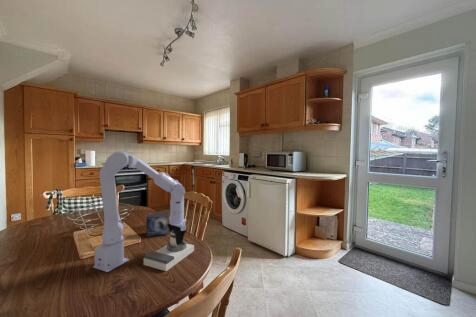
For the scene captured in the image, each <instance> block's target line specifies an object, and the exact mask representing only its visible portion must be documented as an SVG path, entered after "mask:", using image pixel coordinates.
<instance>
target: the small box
mask: <svg viewBox="0 0 476 317" xmlns="http://www.w3.org/2000/svg"><path fill="white" fill-rule="evenodd" d="M167 224H169V212H154V213H153V212H152V213H151V212H150V213H147V215H146V232H145V233H146V235H145V236H146V237H147V238H148V237H159V236H161V237H162V236H168V233H169V228H168V226H167Z"/></svg>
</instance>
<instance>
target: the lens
mask: <svg viewBox="0 0 476 317" xmlns="http://www.w3.org/2000/svg"><path fill="white" fill-rule="evenodd" d="M169 233H170V232H169ZM169 237H170V238H169V242H170V247H181V246H182V244H180V245H177V244H176V237H175V233H174V231H171V233H170V234H169Z"/></svg>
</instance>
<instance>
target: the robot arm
mask: <svg viewBox="0 0 476 317" xmlns="http://www.w3.org/2000/svg"><path fill="white" fill-rule="evenodd" d="M127 166H128V169H130V168H131V169H137V170H139V171H140V172H142V173H143V174H145V175H147V176H149V177H150V178H152V179H153V182H154V184H155V185H156V186H158V187H160V188H161V189H162V190H164V191H166V192H168V193H170V201H169V202H170V203H169V204H170V206H169V207H170V208H169V209H170V212H169V213H170V214H169V216H168V224H167V226H168V231H169V233H171V231H174V233H175V237H176V244H177V245H180V244H182V242H183V241H184V238H185V234H186V233H187V230H188V228H187V225H186V223H187V219H186V218H185V194H186V188H185V187H184V186H183V184H181V183H180V182H179V180H178V179H174V178H172V177H171V176H170V174H169V173H168V172H164V171H162V172H161V171H160V172H158V171H156V170H155V169H154V168H153V167H151V166H150V165H149V164H147V163H146V162H145V161H143V160H142V159H140V158H138V157H137V156H135V155H133V154H130V153H129V152H128V151H126V150H125V151H124V150H118V151H115V152H113V153H112V154H110V155H109V156H108V157H107V158H106V159H105V162H104V163H103V166H102V167H101V169H100V170H99V183H100V189H101V190H100V193H101V199H102V208H103V216H104V218H103V219H104V220H103V232H102V234H101V240H102V242H101V244H99V246H97V247H96V248H95V250H94V252H93V253H94V255H93V256H94V265H93V266H92V268H94V269H97V270H100V271H103V272H105V273H108V272H110V271H112V270H114V269H116V268H117V267H120V266H121V265H123V264H125V263H127V262H128V261H130V259H129V258H127V257H125V238H124V236H123V234H122V233H123V232H124V228H125V225H124V224H123V222H122V220H121V216H120V213H119V206H118V205H119V204H118V195H117V187H116V179H115V178H116V177H115V176H116V174H118V172H119V171H120V170H122V169H123V168H125V167H127Z"/></svg>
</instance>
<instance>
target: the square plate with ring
mask: <svg viewBox="0 0 476 317" xmlns="http://www.w3.org/2000/svg"><path fill="white" fill-rule="evenodd" d="M194 251H195V245H194V244H191V243H188V242H186V241H185V240H183V242H182V246H181V247H170V241H169V242H167V244H166V245H164V246H163V247H161V248H159V249H158V250H155V251H154V250H152V251H150V252H148V253H147V254H145V255H144V258H143V266H147V267H151V268H153V269H158V270H160V271H164V272H167V271H169V270H170V269H171V268H172V267H174V266H175V265H177V264H179V262H181V261H182V260H184V259H185V258H186V257H188V256H189V255H191V254H192V253H193V252H194Z"/></svg>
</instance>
